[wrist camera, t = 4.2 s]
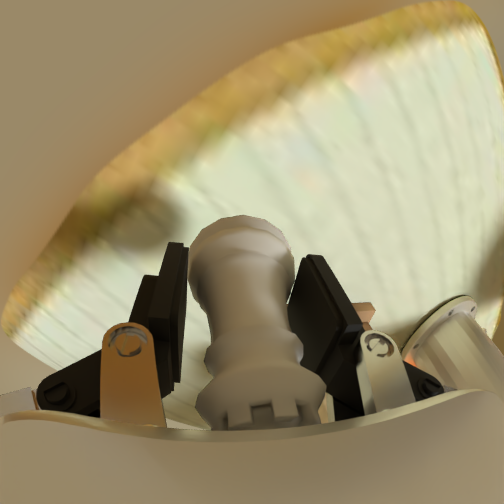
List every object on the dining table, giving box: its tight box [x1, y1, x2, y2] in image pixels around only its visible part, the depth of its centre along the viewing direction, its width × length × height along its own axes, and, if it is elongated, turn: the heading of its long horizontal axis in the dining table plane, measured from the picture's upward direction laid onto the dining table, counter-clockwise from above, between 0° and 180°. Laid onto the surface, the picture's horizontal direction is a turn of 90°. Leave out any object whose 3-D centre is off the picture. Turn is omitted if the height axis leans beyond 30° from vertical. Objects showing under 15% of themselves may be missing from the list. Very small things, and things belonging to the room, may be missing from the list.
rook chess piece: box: [187, 215, 326, 431], centre depth 9 cm, size 4×4×8 cm
